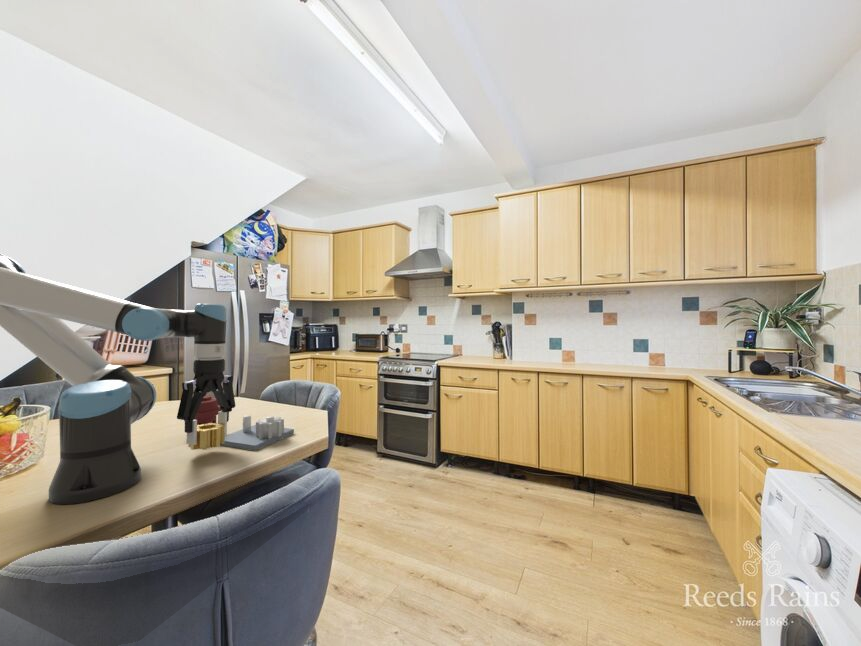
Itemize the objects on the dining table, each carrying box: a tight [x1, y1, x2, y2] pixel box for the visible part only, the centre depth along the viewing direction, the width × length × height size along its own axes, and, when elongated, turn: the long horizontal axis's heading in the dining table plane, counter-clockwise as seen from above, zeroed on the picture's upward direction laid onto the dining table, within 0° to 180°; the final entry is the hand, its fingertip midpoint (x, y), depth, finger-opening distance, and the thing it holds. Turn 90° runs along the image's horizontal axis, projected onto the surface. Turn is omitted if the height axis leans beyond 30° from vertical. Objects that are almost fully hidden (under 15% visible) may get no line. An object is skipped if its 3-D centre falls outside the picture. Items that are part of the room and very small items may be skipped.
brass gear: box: [188, 422, 225, 451], centre depth 99 cm, size 8×8×5 cm
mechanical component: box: [194, 395, 222, 425], centre depth 117 cm, size 12×10×10 cm
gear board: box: [220, 414, 295, 452], centre depth 112 cm, size 16×17×7 cm
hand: (207, 438), depth 99 cm, fingers closed on brass gear, 8 cm apart
